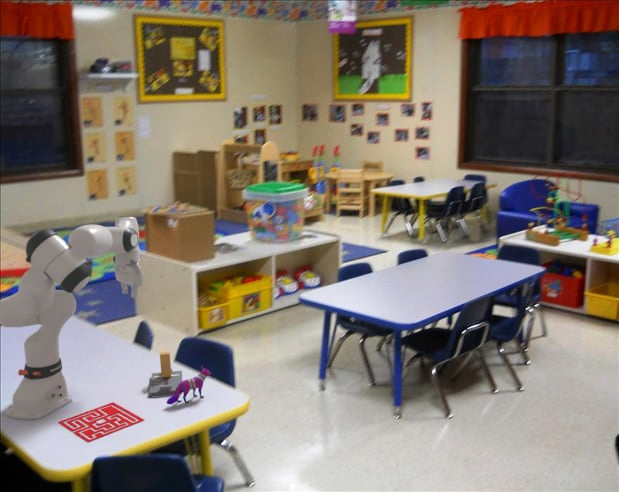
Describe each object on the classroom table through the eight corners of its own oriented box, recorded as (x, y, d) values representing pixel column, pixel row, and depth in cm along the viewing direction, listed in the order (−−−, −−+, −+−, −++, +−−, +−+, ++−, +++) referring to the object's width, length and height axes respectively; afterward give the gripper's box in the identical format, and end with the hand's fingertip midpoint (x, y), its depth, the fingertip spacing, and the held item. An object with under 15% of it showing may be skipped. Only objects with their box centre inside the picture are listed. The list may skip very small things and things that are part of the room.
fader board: (181, 393, 256) (181, 386, 256) (150, 397, 255) (149, 389, 254) (182, 374, 274) (181, 366, 273) (152, 377, 272) (151, 369, 271)
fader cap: (171, 376, 267) (169, 353, 265) (161, 377, 266) (159, 354, 264) (171, 373, 270) (169, 349, 268) (161, 374, 270) (160, 350, 268)
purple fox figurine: (215, 394, 255) (213, 366, 253) (169, 409, 244) (167, 381, 242) (209, 390, 258) (207, 363, 256) (164, 406, 247) (162, 377, 245)
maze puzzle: (58, 423, 237) (58, 421, 237) (113, 403, 251) (113, 402, 251) (88, 443, 223) (88, 441, 223) (144, 421, 237) (144, 419, 237)
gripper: (146, 261, 265) (147, 298, 266) (127, 255, 282) (128, 290, 283) (129, 262, 261) (130, 300, 263) (111, 257, 278) (112, 292, 280)
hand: (129, 295), depth 273 cm, fingers open, 8 cm apart
